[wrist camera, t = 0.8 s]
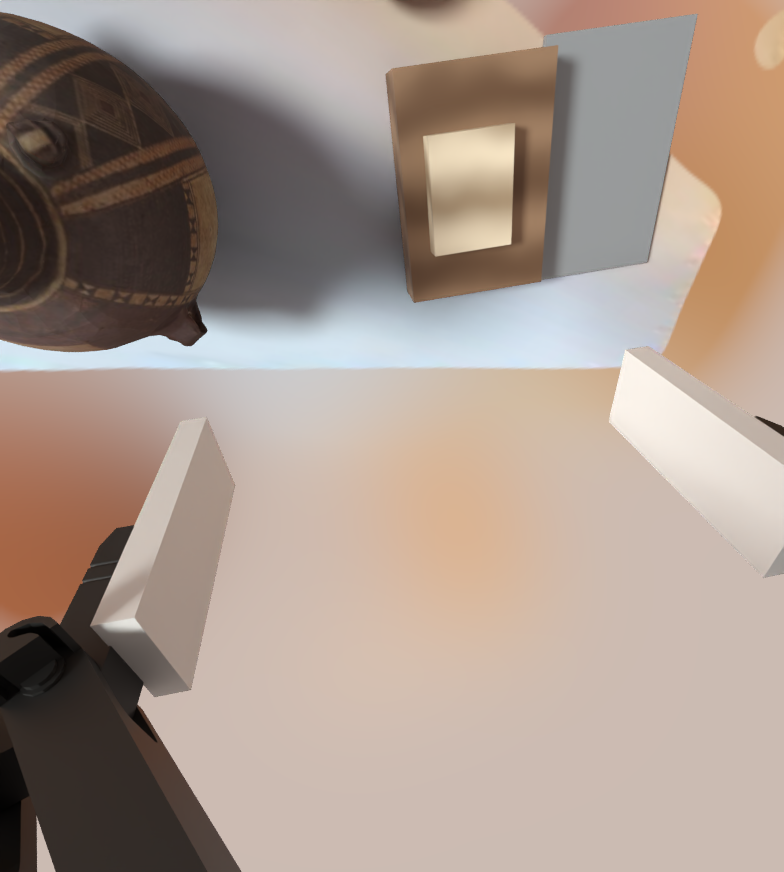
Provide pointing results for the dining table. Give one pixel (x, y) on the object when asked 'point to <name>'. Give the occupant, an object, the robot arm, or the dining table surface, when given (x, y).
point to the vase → (95, 200)
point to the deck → (460, 110)
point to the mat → (611, 141)
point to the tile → (470, 188)
